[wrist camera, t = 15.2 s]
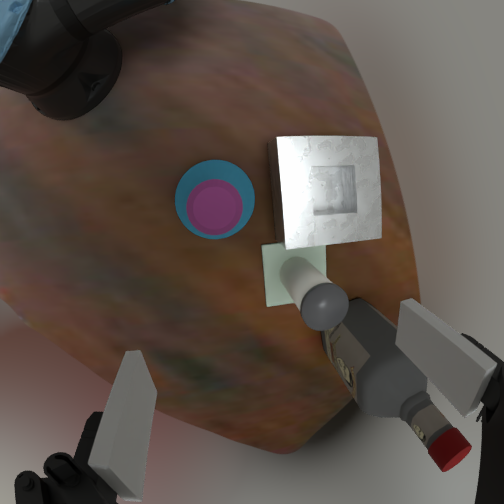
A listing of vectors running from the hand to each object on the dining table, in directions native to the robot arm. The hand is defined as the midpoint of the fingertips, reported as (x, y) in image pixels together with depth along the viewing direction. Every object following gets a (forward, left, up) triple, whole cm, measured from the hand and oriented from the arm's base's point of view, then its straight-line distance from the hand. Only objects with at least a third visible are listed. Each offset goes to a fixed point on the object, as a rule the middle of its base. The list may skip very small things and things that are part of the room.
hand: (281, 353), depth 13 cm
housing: (-6, +12, -27) cm, 30 cm away
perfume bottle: (-6, -2, -27) cm, 28 cm away
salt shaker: (+6, +8, -26) cm, 28 cm away
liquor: (+16, +16, -27) cm, 35 cm away
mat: (+6, +8, -27) cm, 28 cm away
